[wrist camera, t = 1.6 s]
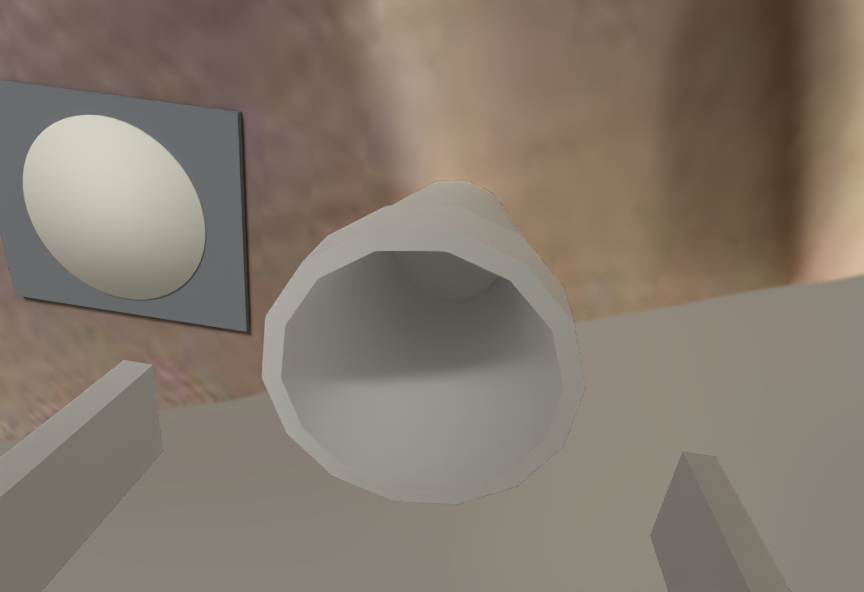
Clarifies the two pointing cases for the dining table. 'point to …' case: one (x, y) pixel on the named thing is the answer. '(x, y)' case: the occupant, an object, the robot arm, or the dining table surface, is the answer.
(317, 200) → the dining table surface
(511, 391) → the foam cup
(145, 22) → the dining table surface
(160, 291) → the mat
